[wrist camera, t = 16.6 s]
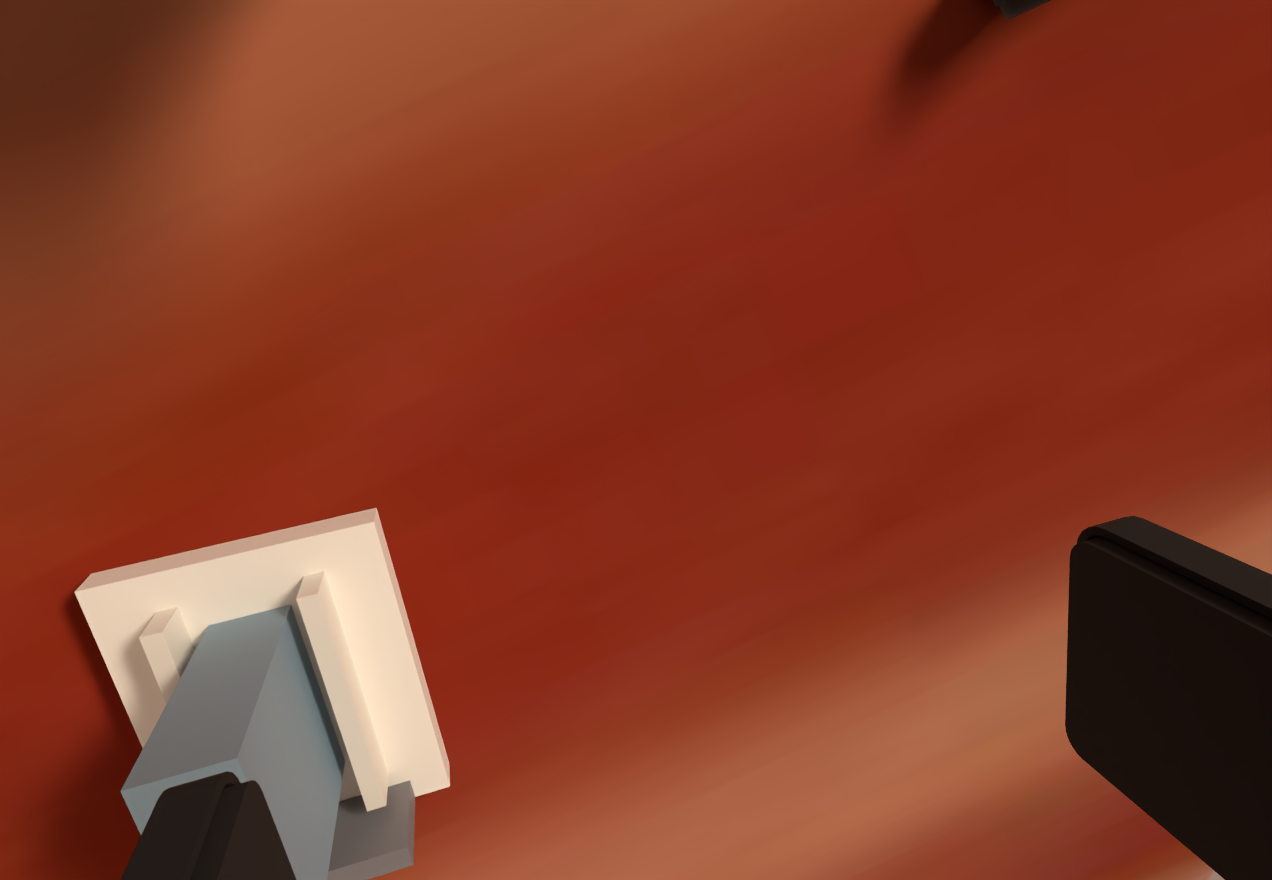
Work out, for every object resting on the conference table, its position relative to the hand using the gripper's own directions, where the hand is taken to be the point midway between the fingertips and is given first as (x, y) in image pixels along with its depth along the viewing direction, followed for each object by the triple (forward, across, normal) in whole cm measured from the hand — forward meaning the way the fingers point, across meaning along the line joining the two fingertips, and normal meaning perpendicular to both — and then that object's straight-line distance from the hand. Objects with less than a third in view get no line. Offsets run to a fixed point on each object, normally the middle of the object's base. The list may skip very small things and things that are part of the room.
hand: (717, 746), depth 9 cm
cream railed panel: (+34, +15, +17) cm, 41 cm away
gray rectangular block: (+32, +15, +17) cm, 39 cm away
